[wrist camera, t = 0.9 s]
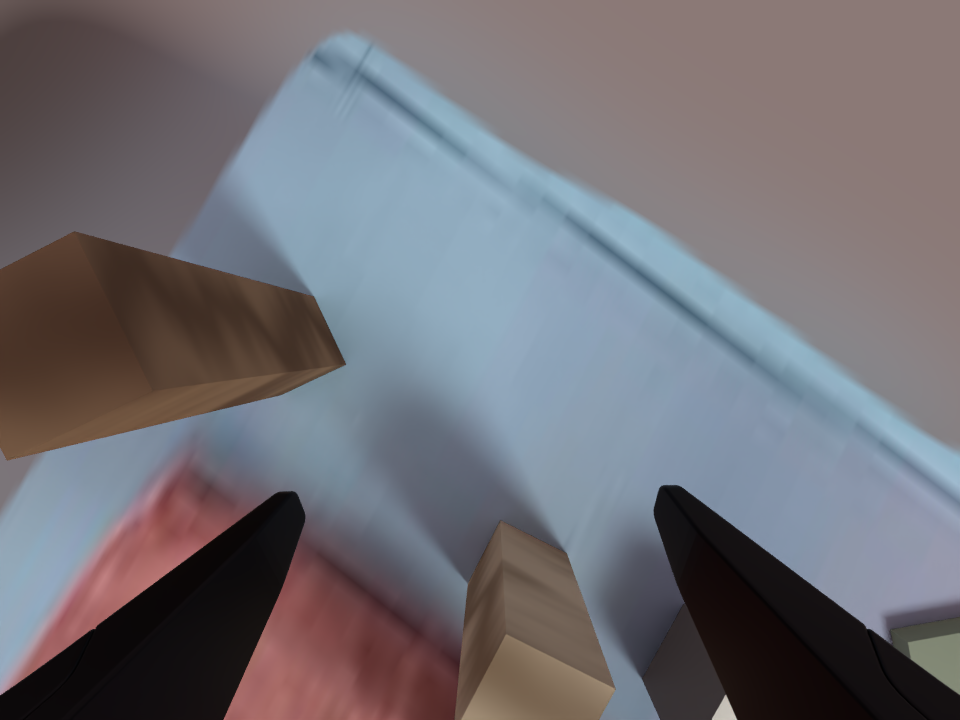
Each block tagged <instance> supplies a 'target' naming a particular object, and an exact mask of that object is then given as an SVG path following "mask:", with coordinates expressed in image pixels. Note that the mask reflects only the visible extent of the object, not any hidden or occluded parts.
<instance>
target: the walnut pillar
mask: <svg viewBox="0 0 960 720" xmlns="http://www.w3.org/2000/svg"><path fill="white" fill-rule="evenodd" d="M344 365H346V363H345V361H344V359H343V357H342V355H341V353H340V351H339V348H338V346H337V344H336V342H335V340H334V338H333V336H332V334H331V332H330V329H329V327H328V325H327V323H326V321H325V319H324V317H323V315H322V312H321V310H320V308H319V306H318V304H317V302H316V300H315V298H314V296H310V295H306V294H303V293H299V292H295V291H292V290H288V289H284V288H281V287H277V286H273V285H270V284H266V283H262V282H259V281H255V280H251V279H248V278H244V277H240V276H236V275H233V274H229V273H225V272H222V271H218V270H214V269H211V268H207V267H203V266H200V265H196V264H192V263H189V262H185V261H181V260H178V259H174V258H170V257H167V256H163V255H159V254H156V253H152V252H148V251H144V250H141V249H137V248H134V247H130V246H126V245H123V244H118V243H115V242H111V241H108V240H104V239H100V238H97V237H93V236H89V235H86V234H82V233H78V232H72V233H70V234H68V235H67V236H64V237H63V238H61V239H59V240H57V241H55V242H53V243H51V244H49V245H47V246H45V247H43V248H41V249H39V250H37V251H35V252H33V253H31V254H29V255H28V256H25V257H24V258H22V259H20V260H18V261H16V262H14V263H12V264H10V265H8V266H6V267H4V268H2V269H0V448H1V450H2V452H3V454H4V456H5V458H6V460H11V459H16V458H20V457H24V456H28V455H32V454H37V453H41V452H45V451H49V450H53V449H57V448H62V447H66V446H70V445H74V444H78V443H83V442H87V441H91V440H95V439H99V438H103V437H108V436H112V435H116V434H120V433H124V432H129V431H133V430H137V429H141V428H145V427H149V426H154V425H158V424H162V423H166V422H170V421H174V420H179V419H183V418H187V417H191V416H195V415H200V414H204V413H208V412H212V411H216V410H220V409H225V408H229V407H233V406H237V405H241V404H246V403H250V402H254V401H258V400H262V399H266V398H271V397H275V396H279V395H282V394H284V393H286V392H288V391H291V390H293V389H295V388H297V387H299V386H301V385H303V384H305V383H308V382H310V381H312V380H314V379H316V378H318V377H320V376H323V375H325V374H327V373H329V372H331V371H333V370H335V369H337V368H340V367H342V366H344Z"/></svg>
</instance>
